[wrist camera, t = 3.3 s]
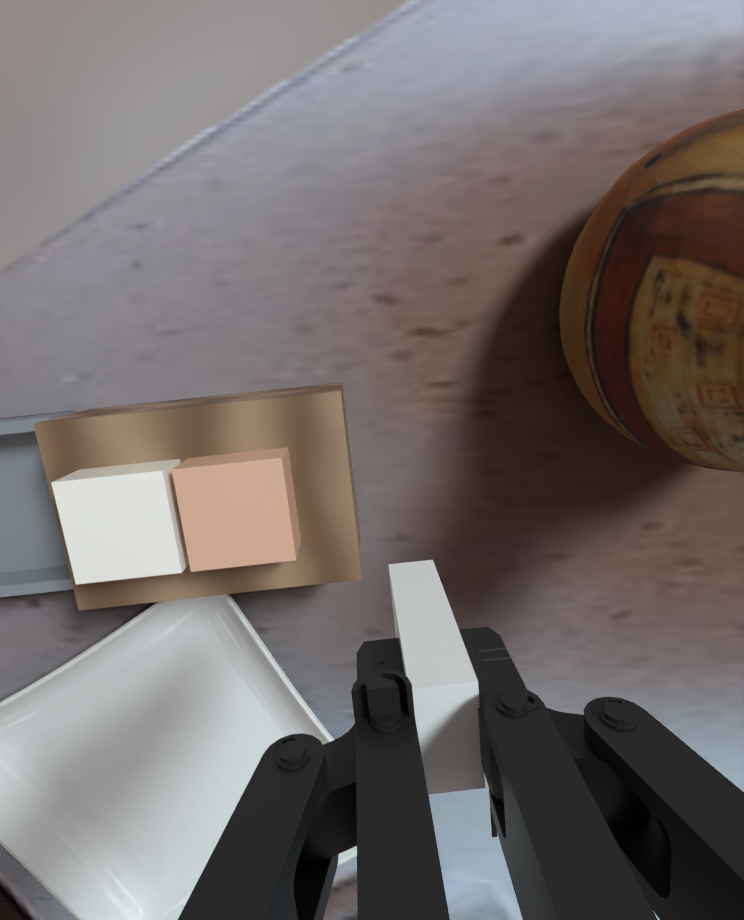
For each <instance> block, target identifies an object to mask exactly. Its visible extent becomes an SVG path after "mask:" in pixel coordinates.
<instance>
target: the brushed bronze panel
mask: <svg viewBox="0 0 744 920" xmlns="http://www.w3.org/2000/svg"><path fill="white" fill-rule="evenodd" d="M33 425H34V429H35V433H36V437H37V441H38V445H39V449H40V453H41V458H42V462H43V466H44V470H45V474H46V478H47V482H48V486H49V490H50V495H51V499H52V503H53V507H54V511H55V515H56V519H57V523H58V528H59V532H60V536H61V540H62V544H63V548H64V552H65V556H66V560H67V565H68V569H69V573H70V577H71V581H72V585H73V589H74V593H75V598H76V602H77V606H78V610H79V611H80V610H89V609H98V608H107V607H116V606H125V605H135V604H144V603H153V602H162V601H171V600H180V599H189V598H198V597H207V596H216V595H225V594H234V593H243V592H252V591H261V590H270V589H279V588H288V587H297V586H306V585H315V584H324V583H333V582H342V581H351V580H360V579H362V571H361V550H360V535H359V526H358V517H357V508H356V499H355V490H354V482H353V473H352V464H351V455H350V446H349V437H348V428H347V419H346V410H345V401H344V393H343V384H342V383H335V384H326V385H316V386H307V387H297V388H288V389H278V390H269V391H259V392H249V393H240V394H230V395H221V396H211V397H202V398H192V399H183V400H173V401H163V402H154V403H144V404H135V405H125V406H116V407H106V408H97V409H89V410H85V411H81V412H77V413H73V414H69V415H65V416H61V417H57V418H53V419H49V420H45V421H41V422H37V423H33ZM286 447H288V450H289V457H290V464H291V472H292V479H293V486H294V493H295V501H296V508H297V515H298V522H299V529H300V537H301V544H300V548H299V552H298V555H297V559H296V560H295V561H286V562H276V563H267V564H258V565H249V566H240V567H231V568H222V569H213V570H204V571H195V572H191V570H190V565H189V564H188V565H187V567H186V568H185V570H184V571H183V572H182V573H177V574H168V575H158V576H149V577H140V578H131V579H122V580H113V581H104V582H95V583H86V584H77V585H76V583H75V579H74V575H73V571H72V567H71V563H70V558H69V554H68V550H67V546H66V542H65V538H64V534H63V529H62V525H61V521H60V517H59V513H58V509H57V505H56V500H55V496H54V492H53V488H52V484H51V482H53V481H55V480H58V479H60V478H62V477H64V476H66V475H68V474H71V473H73V472H75V471H77V470H80V469H89V468H99V467H108V466H118V465H127V464H136V463H146V462H155V461H164V460H174V459H180V463H182V462H183V461H185V460H186V459H187V458H193V457H202V456H211V455H221V454H230V453H240V452H249V451H258V450H268V449H277V448H286Z"/></svg>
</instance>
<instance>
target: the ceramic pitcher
mask: <svg viewBox="0 0 744 920" xmlns="http://www.w3.org/2000/svg"><path fill="white" fill-rule="evenodd" d="M559 319H560V332H561V340H562V346H563V351H564V354H565V357H566V360H567V364H568V366H569V368H570V370H571V372H572V375H573V377H574V379H575V381H576V383H577V386H578V387H579V389H580V390H581V392H582V393H583V395H584V397H585V398H586V400H587V401H588V402H589V404H590V405H591V407H592V408H593V409H594V410H595V411H596V412H597V413H598V414H599V415H600V416H601V417H602V418H603V419H604V420H605V421H606V422H608V423H609V424H610V425H611V426H612V427H614V428H615V429H616V430H618V431H619V432H620V433H622V434H623V435H625V436H626V437H627V438H629V439H631V440H633V441H634V442H636V443H638V444H640V445H642V446H644V447H647V448H649V449H651V450H653V451H656V452H658V453H660V454H663V455H665V456H667V457H670V458H673V459H676V460H678V461H682V462H686V463H690V464H694V465H698V466H702V467H705V468H710V469H717V470H724V471H736V472H744V109H743V110H739V111H735V112H731V113H728V114H725V115H721V116H718V117H715V118H712V119H709V120H706V121H703V122H701V123H699V124H696V125H694V126H692V127H689V128H688V129H686V130H684V131H682V132H681V133H679V134H677V135H675V136H674V137H672V138H670V139H669V140H667V141H665V142H664V143H662V144H661V145H659V146H657V147H656V148H654V149H653V150H652V151H650V152H649V153H648V154H646V155H645V156H644V157H642V158H641V159H640V160H638V161H637V162H636V163H634V164H633V165H632V166H631V167H630V168H629V169H628V170H627V171H626V172H625V173H624V174H623V175H622V176H621V177H620V178H619V179H618V180H617V182H616V183H615V184H614V185H613V186H612V187H611V189H610V190H609V191H608V192H607V193H606V195H605V196H604V197H603V198H602V200H601V201H600V203H599V204H598V206H597V207H596V209H595V210H594V212H593V213H592V215H591V216H590V218H589V219H588V221H587V223H586V225H585V227H584V228H583V230H582V232H581V234H580V235H579V237H578V239H577V241H576V244H575V246H574V249H573V252H572V254H571V257H570V260H569V262H568V265H567V268H566V271H565V276H564V281H563V287H562V292H561V300H560V309H559Z"/></svg>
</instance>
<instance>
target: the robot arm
mask: <svg viewBox="0 0 744 920" xmlns="http://www.w3.org/2000/svg"><path fill="white" fill-rule="evenodd" d="M388 565H389V575H390V585H391V595H392V605H393V615H394V625H395V634H396V638H393V639H384V640H375V641H366V642H364V643H363V644H362V646H361V647H360V649H359V650H358V652H357V681H356V682H355V683H354V684H353V688H352V691H351V693H352V701H353V709H354V717H355V724H354V726H353V727H352V728H351V729H350V730H349V731H348V732H347V733H346V734H344V735H343V736H342V737H340V738H338V739H336V740H334V741H331V742H328V743H326V744H323V745H322V743H321V741H320V740H319V739H317V738H316V737H314V736H313V735H308V734H304V733H301V734H291V735H288V736H285V737H283V738H280V739H278V740H277V741H276V742H274V743H273V744H271V745H270V746H269V747H268V749H267V750H266V751H265V752H264V754H263V755H262V757H261V759H260V761H259V763H258V765H257V767H256V769H255V771H254V773H253V775H252V777H251V779H250V781H249V783H248V784H247V786H246V788H245V790H244V792H243V794H242V796H241V798H240V800H239V802H238V804H237V806H236V808H235V810H234V812H233V814H232V815H231V817H230V819H229V821H228V823H227V825H226V827H225V829H224V831H223V833H222V835H221V837H220V839H219V841H218V843H217V845H216V846H215V848H214V850H213V852H212V854H211V856H210V858H209V860H208V862H207V864H206V866H205V868H204V870H203V872H202V874H201V876H200V877H199V879H198V881H197V883H196V885H195V887H194V889H193V891H192V893H191V895H190V897H189V899H188V901H187V903H186V905H185V907H184V908H183V910H182V912H181V914H180V916H179V918H178V920H323V917H324V913H325V909H326V906H327V902H328V898H329V894H330V891H331V887H332V883H333V880H334V876H335V872H336V869H337V865H338V856H339V854H340V853H342V852H344V851H347V850H349V849H351V848H353V847H355V846H357V895H358V920H450V919H449V913H448V908H447V902H446V896H445V890H444V884H443V878H442V872H441V867H440V861H439V855H438V849H437V843H436V837H435V832H434V826H433V820H432V814H431V808H430V802H429V797H428V794H435V793H444V792H453V791H461V790H470V789H479V788H485V781H484V773H485V776H486V779H487V783H488V786H489V795H490V811H491V827H492V837H497V833H498V836H499V839H500V843H501V846H502V850H503V853H504V856H505V860H506V863H507V867H508V870H509V874H510V877H511V880H512V884H513V887H514V891H515V894H516V897H517V901H518V904H519V908H520V911H521V915H522V918H523V920H657V918H656V916H655V914H656V915H657V916H658V917H659V919H660V920H744V792H743V791H741V790H740V789H739V788H738V787H737V786H735V785H734V784H733V783H732V782H731V781H729V780H728V779H727V778H726V777H725V776H723V775H722V774H721V773H720V772H719V771H717V770H716V769H715V768H714V767H713V766H711V765H710V764H709V763H708V762H707V761H705V760H704V759H703V758H702V757H701V756H699V755H698V754H697V753H696V752H695V751H693V750H692V749H691V748H690V747H689V746H687V745H686V744H685V743H684V742H683V741H681V740H680V739H679V738H678V737H677V736H675V735H674V734H673V733H672V732H671V731H669V730H668V729H667V728H666V727H665V726H663V725H662V724H661V723H660V722H659V721H658V720H656V719H655V718H654V717H653V716H652V715H650V714H649V713H648V712H647V711H646V710H644V709H643V708H641V707H640V706H638V705H636V704H635V703H633V702H630V701H627V700H624V699H622V698H615V697H603V698H596V699H594V700H592V701H591V702H589V703H588V704H587V705H586V707H585V709H584V715H579V714H571V713H564V712H559V711H554V710H552V709H549V708H546V707H545V705H544V703H543V702H542V701H541V699H540V698H539V697H538V696H537V695H535V694H534V693H532V692H530V691H529V690H527V689H526V687H525V685H524V683H523V681H522V679H521V677H520V675H519V673H518V671H517V669H516V667H515V665H514V663H513V661H512V659H511V658H510V655H509V653H508V651H507V649H506V647H505V645H504V643H503V641H502V639H501V637H500V635H498V634H497V633H496V632H494V631H493V630H492V629H490V628H489V627H480V628H471V629H462V630H459V629H458V626H457V623H456V621H455V618H454V615H453V613H452V610H451V607H450V605H449V602H448V599H447V596H446V594H445V591H444V588H443V586H442V583H441V580H440V578H439V575H438V572H437V570H436V567H435V564H434V561H433V560H425V561H416V562H407V563H398V564H388ZM653 911H654V912H655V914H654V912H653Z"/></svg>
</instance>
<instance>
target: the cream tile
mask: <svg viewBox="0 0 744 920" xmlns="http://www.w3.org/2000/svg"><path fill="white" fill-rule="evenodd" d="M179 464H180V459H174V460H164V461H155V462H146V463H136V464H127V465H118V466H108V467H99V468H89V469H80V470H77V471H75V472H73V473H71V474H68V475H66V476H64V477H62V478H60V479H58V480H55V481H53V482H51V484H52V488H53V492H54V496H55V500H56V505H57V509H58V513H59V517H60V521H61V525H62V529H63V534H64V538H65V542H66V546H67V550H68V554H69V558H70V563H71V567H72V571H73V575H74V579H75V583H76V585H77V584H86V583H95V582H104V581H113V580H122V579H131V578H140V577H149V576H158V575H168V574H177V573H182V572H183V571H184V570H185V568H186V567H187V565H188V564H189V560H188V554H187V549H186V544H185V538H184V533H183V528H182V523H181V517H180V512H179V507H178V501H177V496H176V491H175V485H174V480H173V475H172V469H173V468H175V467H176V466H177V465H179Z"/></svg>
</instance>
